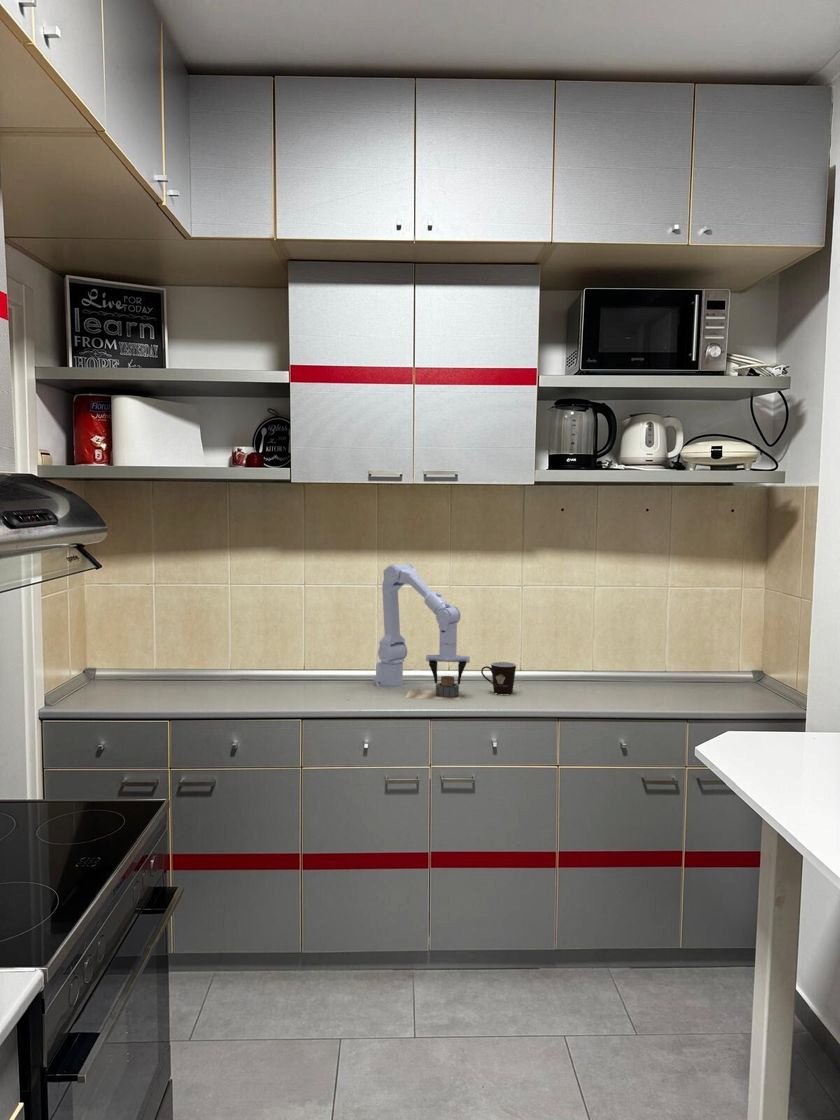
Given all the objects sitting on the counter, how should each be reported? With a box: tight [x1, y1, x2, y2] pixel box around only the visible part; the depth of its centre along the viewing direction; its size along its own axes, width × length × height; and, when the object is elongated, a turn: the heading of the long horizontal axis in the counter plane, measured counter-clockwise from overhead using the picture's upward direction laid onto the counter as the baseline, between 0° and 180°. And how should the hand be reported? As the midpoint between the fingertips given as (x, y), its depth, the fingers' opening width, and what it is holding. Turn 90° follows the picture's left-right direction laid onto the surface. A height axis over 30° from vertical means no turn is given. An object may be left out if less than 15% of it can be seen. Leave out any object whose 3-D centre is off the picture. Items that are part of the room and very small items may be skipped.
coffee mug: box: [480, 661, 517, 695], centre depth 282 cm, size 12×9×10 cm
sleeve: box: [435, 682, 460, 698], centre depth 272 cm, size 8×8×4 cm
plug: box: [440, 675, 455, 687], centre depth 272 cm, size 4×4×6 cm
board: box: [404, 689, 462, 701], centre depth 273 cm, size 18×12×1 cm, turn 84°
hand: (447, 683), depth 272 cm, fingers open, 7 cm apart
